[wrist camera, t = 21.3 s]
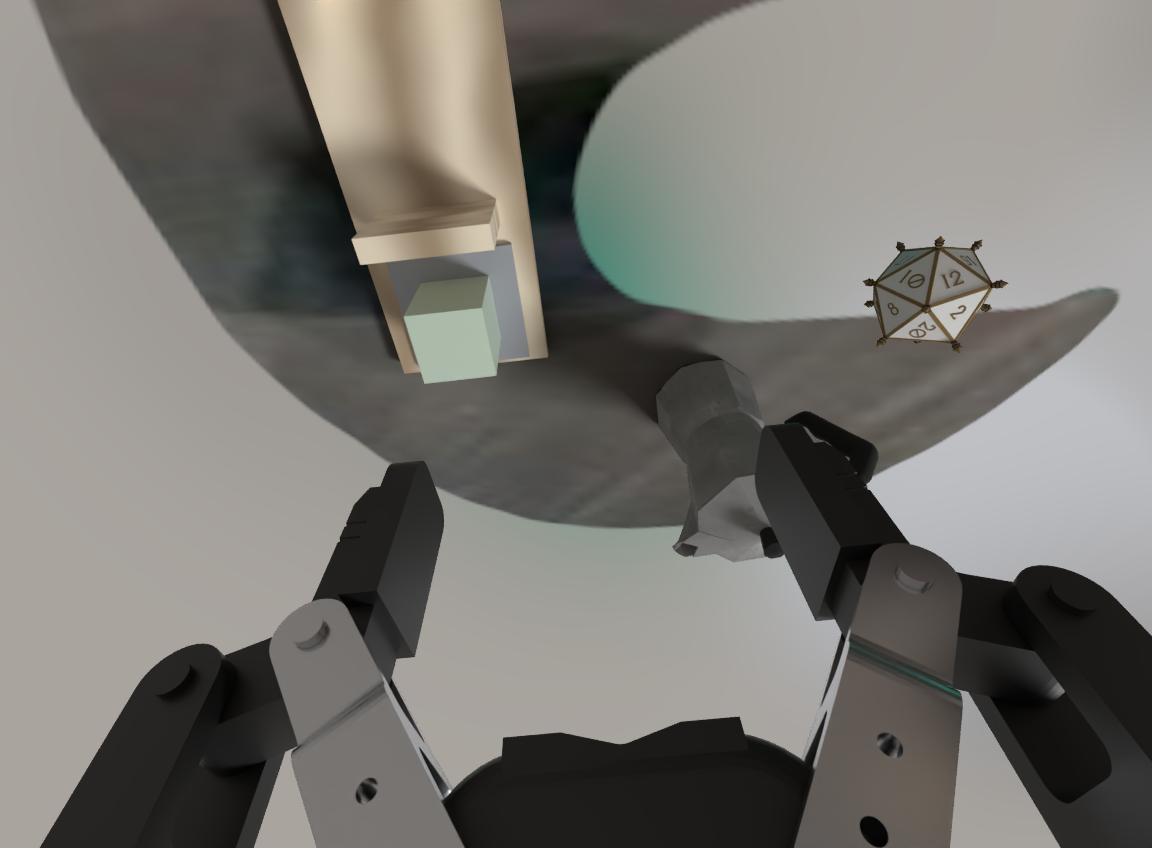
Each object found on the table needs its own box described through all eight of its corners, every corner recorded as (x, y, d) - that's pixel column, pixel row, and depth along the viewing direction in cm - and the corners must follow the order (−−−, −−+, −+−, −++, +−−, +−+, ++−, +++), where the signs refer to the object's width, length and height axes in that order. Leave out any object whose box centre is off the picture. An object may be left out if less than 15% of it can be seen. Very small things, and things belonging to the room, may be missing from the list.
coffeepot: (661, 463, 51) (712, 622, 36) (616, 400, 46) (655, 555, 31) (806, 390, 47) (929, 537, 32) (774, 312, 42) (902, 444, 27)
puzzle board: (417, -594, 19) (356, -939, 12) (547, 348, 42) (550, 400, 36) (102, -559, 19) (-126, -888, 12) (408, 364, 42) (385, 418, 36)
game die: (880, 278, 45) (933, 377, 42) (816, 276, 41) (869, 385, 38) (987, 202, 37) (1061, 317, 34) (919, 192, 33) (996, 320, 30)
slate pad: (511, 242, 36) (511, 244, 35) (529, 354, 41) (529, 356, 40) (386, 256, 36) (384, 259, 35) (420, 366, 41) (419, 369, 40)
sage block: (488, 275, 36) (481, 307, 31) (501, 337, 39) (496, 375, 34) (420, 283, 36) (403, 316, 31) (438, 344, 39) (424, 383, 34)
